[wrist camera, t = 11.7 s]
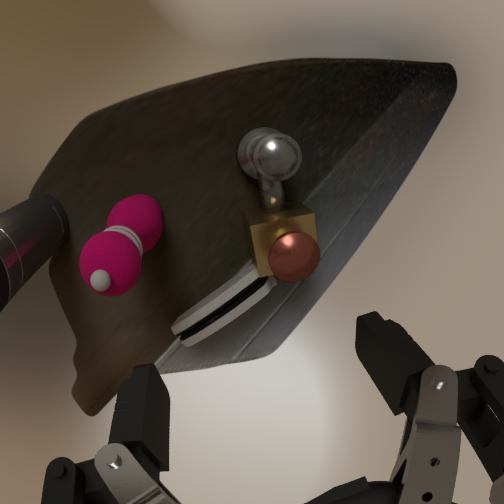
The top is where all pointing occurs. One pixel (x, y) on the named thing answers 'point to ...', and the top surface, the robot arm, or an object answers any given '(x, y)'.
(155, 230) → the pepper mill
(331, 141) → the top surface
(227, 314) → the hinge
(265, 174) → the door knob
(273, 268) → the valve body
